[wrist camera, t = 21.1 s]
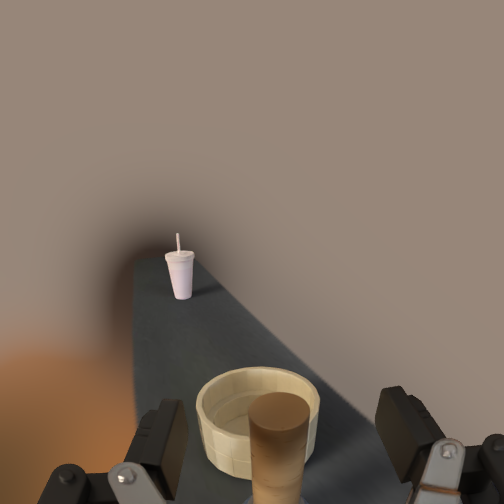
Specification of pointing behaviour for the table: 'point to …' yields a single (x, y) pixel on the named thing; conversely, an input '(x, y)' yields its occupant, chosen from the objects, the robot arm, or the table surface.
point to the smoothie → (181, 271)
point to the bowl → (245, 413)
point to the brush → (278, 447)
